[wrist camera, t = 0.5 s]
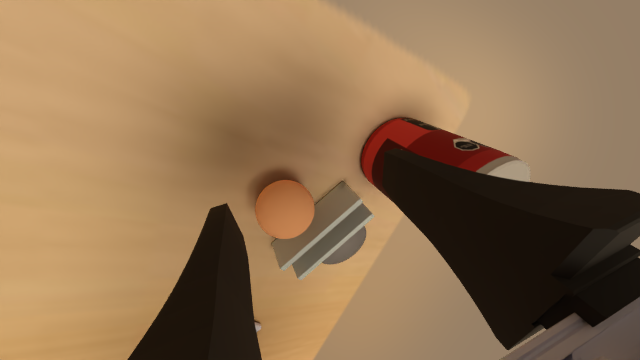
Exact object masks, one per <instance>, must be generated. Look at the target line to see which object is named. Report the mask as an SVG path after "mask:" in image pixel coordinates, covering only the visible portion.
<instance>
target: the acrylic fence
mask: <svg viewBox="0 0 640 360" xmlns="http://www.w3.org/2000/svg"><path fill="white" fill-rule="evenodd" d="M314 207H315V211H314V217H313V220H312V222H311V224H310V226H309V227H308V228H307V229H306V230H305V231H304V232H303V233H302V234H300V235H298V236H296V237H294V238H290V239H279V238H277V239H276V240H275V241H273V242H272V246H273V249H274V252H275V255H276V258H277V261H278V264H279V267H280V269H281V270H283V271H285V270H286V269H287V268H288V267H289V266H290V265H291V264H292V265H293V268H294V270H295V273H296V276H297V278H298V279H300V280H302V279H303V278H304V277H306V276H307V275H308V274H309V273H310V272H311V271H312V270H314V269H315V268H316V267H317V266H318V265H319V264H321V263H322V262H323V261H324V260H325V259H326V258H327V257H329V256H330V255H331V254H332V253H333V252H334V251H336V250H337V249H338V248H339V247H340V246H341V245H342V244H344V243H345V242H346V241H347V240H348V239H349V238H350V237H352V236H353V235H354V234H355V233H356V232H357V231H359V230H360V229H361V228H362V227H363V226H364V225H365V224H367V223H368V222H369V221H370V220H371V219H372V218H374V217H375V216H374V215H373V214H372V213H371V212H370V211H369V210H368V208H367V207H366V206H365V205H364V204H363V201H362V200H361V199H360V198H359V197H358V196H357V195H356V194H355V193H354V192H353V191H352V190H351V189H350V187H349V186H348V185H347V184H346V183H345V182H344V181H342V182H341V183H340V184H338V185H337V186H336V187H335V188H334V189H333V190H332V191H330V192H329V193H328V194H327V195H326V196H325V197H324V198H322V199H321V200H320V201H319V202H318V203H317V204H316V205H314Z"/></svg>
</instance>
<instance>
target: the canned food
mask: <svg viewBox="0 0 640 360" xmlns="http://www.w3.org/2000/svg"><path fill="white" fill-rule="evenodd" d="M395 148H397V149H401V150H404V151H408V152H411V153H414V154H417V155H420V156H423V157H427V158H430V159H433V160H436V161H439V162H442V163H445V164H449V165H452V166H456V167H459V168H463V169H467V170H470V171H474V172H478V173H482V174H487V175H492V176H497V177H502V178H507V179H513V180H519V181H526V182H529V179H530V168H529V165H528V164H527V163H526V162H524V161H522V160H520V159H518V158H517V157H514V156H511V155H509V154H506V153H504V152H501V151H499V150H496V149H493V148H491V147H488V146H485V145H483V144H480V143H477V142H475V141H472V140H469V139H466V138H464V137H461V136H458V135H456V134H453V133H450V132H448V131H445V130H442V129H440V128H437V127H434V126H432V125H429V124H426V123H423V122H421V121H418V120H415V119H412V118H398V119H393V120H391V121H388V122H386V123H385V124H383V125H381V126H380V127H379V128H378V129H377V130H376V131H375V132H374V133H373V134H372V135H371V136H370V138H369V139H368V141H367V143H366V145H365V147H364V149H363V153H362V159H361V164H362V169H363V172H364V174H365V176H366V178H367V179H368V181H369V182H371V183H372V184H373V185H374V186H375V187H376V188H378V189H379V190H380V191H381V192H382V193H383V194H384V195H386V196H387V197H388V198H389V199H390V200H391V201H392V199H391V198H390V197H389V195H388V194H387V192H386V191H385V190H384V188H383V187H382V179H383V164H384V152H386V151H389V150H392V149H395ZM392 202H393V201H392Z"/></svg>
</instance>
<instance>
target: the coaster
mask: <svg viewBox="0 0 640 360" xmlns="http://www.w3.org/2000/svg"><path fill="white" fill-rule="evenodd" d="M365 238H366V229H365V226H363V227H362V228H361V229H360V230H359V231H357V232H356V233H355V234H354V235H353V236H352V237H350V238H349V239H348V240H347V241H346V242H345V243H344V244H342V245H341V246H340V247H339V248H338V249H337V250H336V251H334V252H333V253H332V254H331V255H330V256H329V257H327V258H326V259H325V260H324V261H323V262H322V263H324V264H337V263H340V262H343V261H345V260H347V259H349V258H350V257H352V256H353V255H354V254H355V253H356V252H357V251H358V250H359V249H360V248H361V246H362V245H363V243H364V241H365Z"/></svg>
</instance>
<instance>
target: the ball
mask: <svg viewBox="0 0 640 360" xmlns="http://www.w3.org/2000/svg"><path fill="white" fill-rule="evenodd" d="M314 211H315V207H314V201H313V198H312V196H311V194H310V192H309V191H308V190H307V189H306V188H305V187H304V186H303V185H301V184H300V183H297V182H295V181H291V180H280V181H276V182H274V183H271V184H270V185H268V186H267V187H266V188H265V189H264V190H263V191H262V192H261V193H260V195H259V197H258V199H257V202H256V208H255V212H256V218H257V221H258V223H259V225H260V226H261V228H262V229H263V230H264V231H265V232H266V233H267V234H269V235H271V236H273V237H275V238H279V239H290V238H294V237H296V236H298V235H300V234H302V233H303V232H304V231H305V230H306V229H307V228H308V227H309V226H310V224H311V222H312V220H313V217H314Z"/></svg>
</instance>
